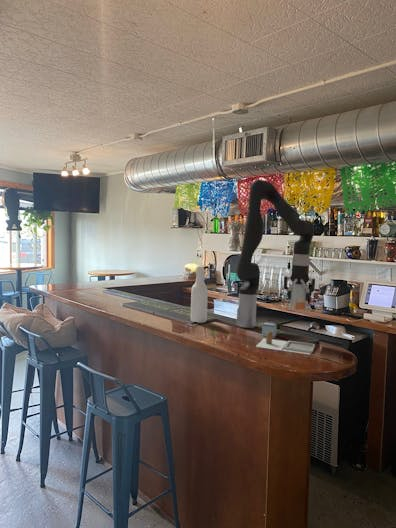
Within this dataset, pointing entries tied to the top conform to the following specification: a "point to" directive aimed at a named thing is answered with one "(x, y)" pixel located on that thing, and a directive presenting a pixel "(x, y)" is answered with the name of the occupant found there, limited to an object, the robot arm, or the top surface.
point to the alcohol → (199, 298)
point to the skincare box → (298, 297)
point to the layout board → (286, 345)
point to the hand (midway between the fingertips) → (298, 299)
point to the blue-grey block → (269, 328)
